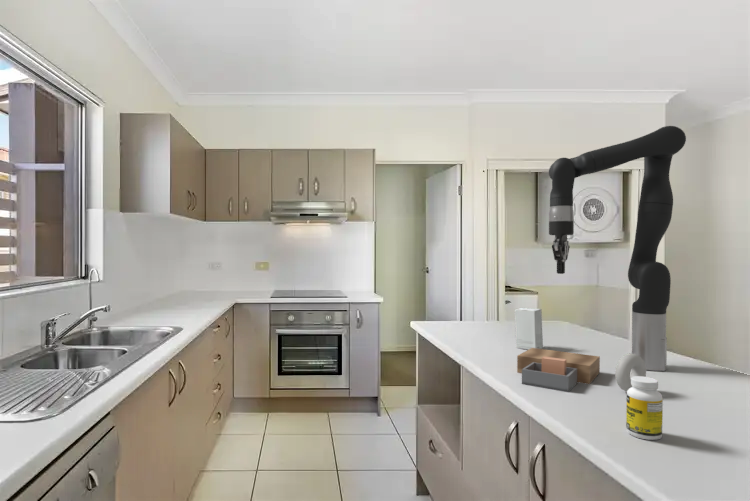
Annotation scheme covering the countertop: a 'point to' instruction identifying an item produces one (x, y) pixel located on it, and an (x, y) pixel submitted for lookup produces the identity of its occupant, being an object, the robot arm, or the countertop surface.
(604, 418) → the countertop surface
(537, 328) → the skincare box
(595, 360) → the chopping block
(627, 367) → the donut
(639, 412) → the pill bottle
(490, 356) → the countertop surface
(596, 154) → the robot arm
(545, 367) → the tile
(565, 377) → the bin
